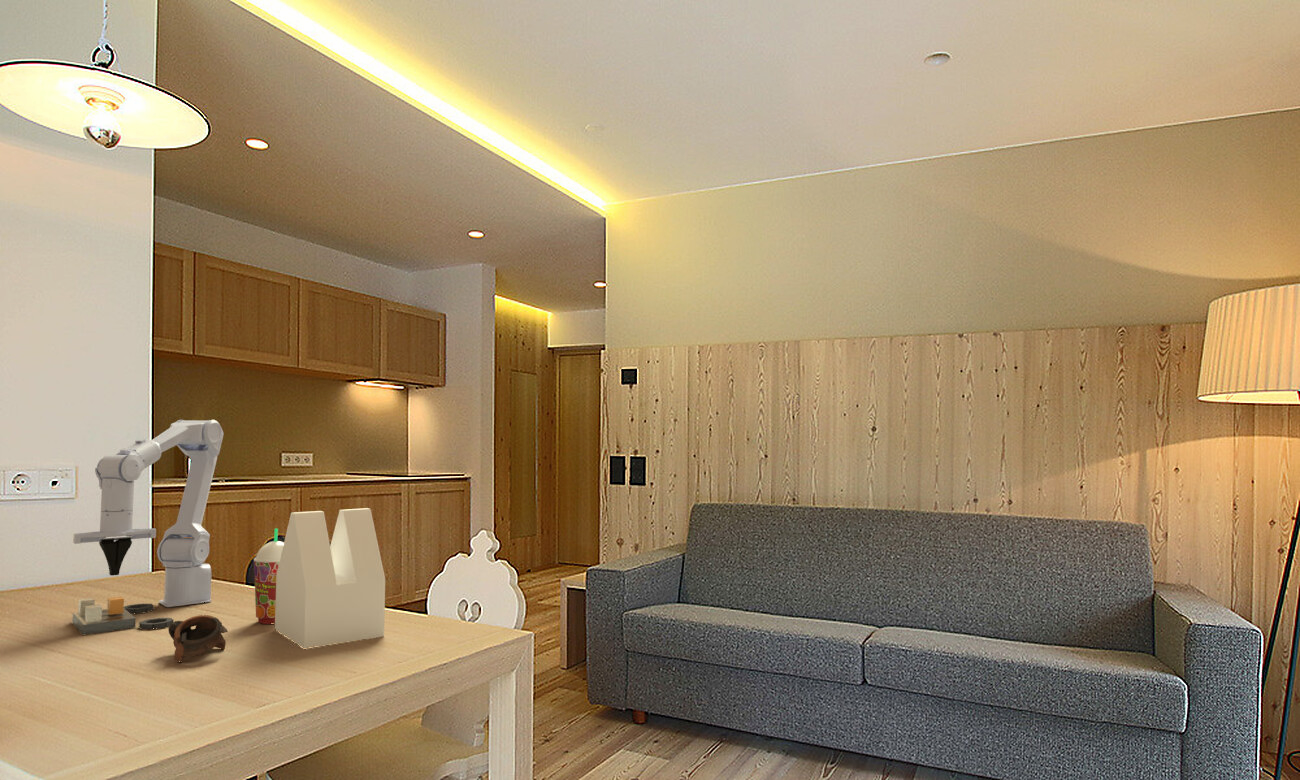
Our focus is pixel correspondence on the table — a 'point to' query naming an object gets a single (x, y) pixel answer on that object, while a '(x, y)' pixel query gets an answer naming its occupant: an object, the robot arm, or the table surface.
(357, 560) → the white v-notch block
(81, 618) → the breaker strip
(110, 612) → the orange breaker switch
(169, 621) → the coil
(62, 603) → the table surface
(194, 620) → the rusty ring housing
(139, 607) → the coil
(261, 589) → the smoothie
